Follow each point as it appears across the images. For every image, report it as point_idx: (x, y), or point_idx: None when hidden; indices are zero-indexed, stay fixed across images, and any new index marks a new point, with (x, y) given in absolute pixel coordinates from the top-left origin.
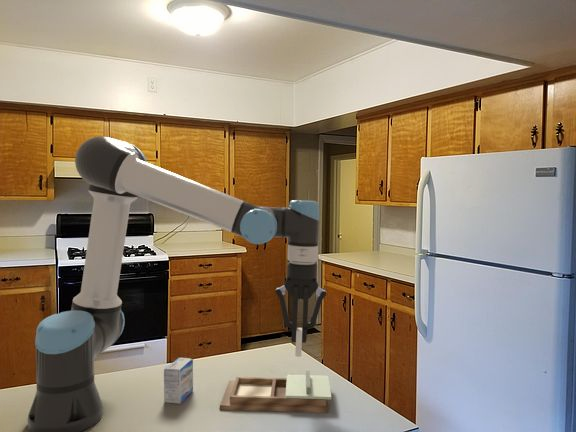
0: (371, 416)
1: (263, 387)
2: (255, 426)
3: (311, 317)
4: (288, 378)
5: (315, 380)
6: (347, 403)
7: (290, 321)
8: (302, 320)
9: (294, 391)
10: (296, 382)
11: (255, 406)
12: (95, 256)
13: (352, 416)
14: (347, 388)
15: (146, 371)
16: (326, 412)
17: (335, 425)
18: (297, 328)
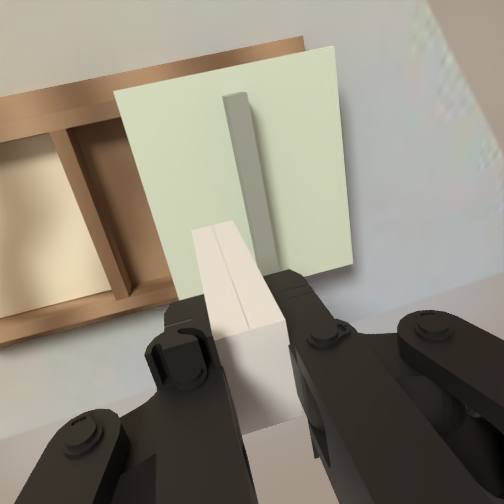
0: (452, 234)
1: (27, 173)
2: (125, 393)
3: (493, 418)
4: (139, 143)
5: (276, 127)
6: (387, 170)
7: (139, 463)
8: (332, 453)
9: None
10: (192, 179)
11: (77, 327)
12: None
13: (396, 252)
14: (395, 24)
15: None
16: None
17: (347, 314)
18: (234, 368)
